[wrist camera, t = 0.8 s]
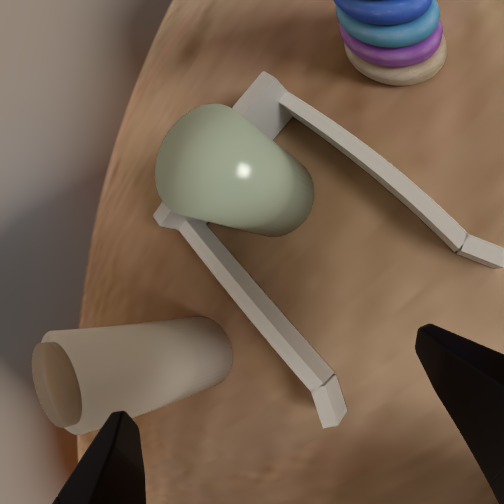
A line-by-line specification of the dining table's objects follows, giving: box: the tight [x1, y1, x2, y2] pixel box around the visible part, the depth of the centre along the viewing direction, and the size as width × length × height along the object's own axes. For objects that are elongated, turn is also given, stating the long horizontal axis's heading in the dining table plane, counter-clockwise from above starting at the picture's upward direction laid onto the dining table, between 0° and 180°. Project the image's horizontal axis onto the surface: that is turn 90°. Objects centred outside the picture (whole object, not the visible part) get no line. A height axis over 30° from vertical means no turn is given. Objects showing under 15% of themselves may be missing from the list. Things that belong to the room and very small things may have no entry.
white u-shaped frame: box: [153, 71, 504, 428], centre depth 19 cm, size 19×15×4 cm
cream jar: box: [32, 316, 232, 435], centre depth 20 cm, size 6×6×14 cm
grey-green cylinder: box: [155, 104, 314, 237], centre depth 20 cm, size 6×6×9 cm
